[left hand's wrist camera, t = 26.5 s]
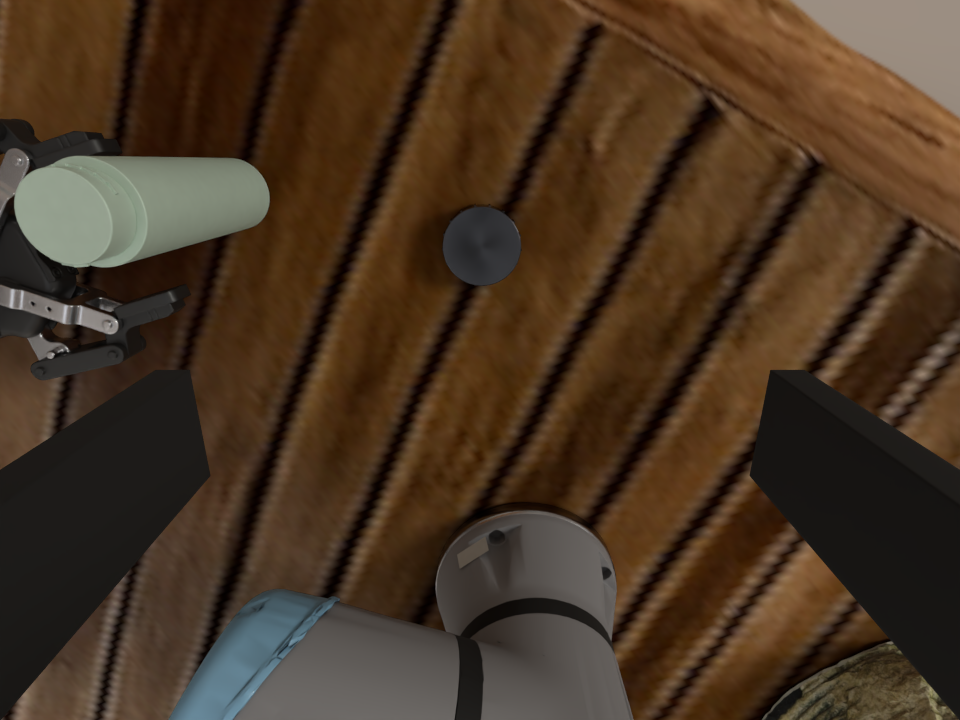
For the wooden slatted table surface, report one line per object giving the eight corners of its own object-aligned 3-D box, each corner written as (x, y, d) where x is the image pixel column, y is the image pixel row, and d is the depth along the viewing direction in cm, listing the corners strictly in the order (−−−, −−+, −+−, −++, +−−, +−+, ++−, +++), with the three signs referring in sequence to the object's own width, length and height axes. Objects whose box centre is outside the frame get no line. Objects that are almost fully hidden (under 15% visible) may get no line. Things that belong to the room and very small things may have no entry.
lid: (530, 265, 38) (532, 270, 36) (459, 291, 39) (459, 298, 37) (505, 191, 36) (506, 193, 35) (431, 220, 37) (429, 223, 35)
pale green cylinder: (193, 160, 36) (-16, 159, 21) (262, 155, 36) (103, 151, 21) (209, 231, 37) (25, 278, 22) (275, 227, 37) (136, 271, 22)
